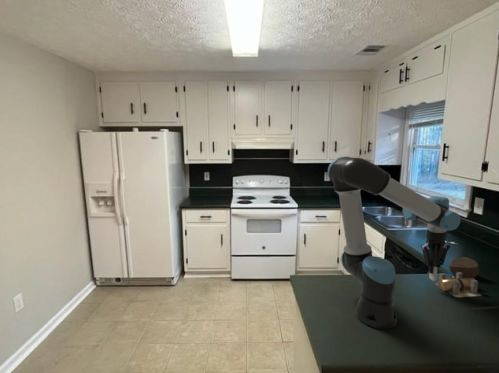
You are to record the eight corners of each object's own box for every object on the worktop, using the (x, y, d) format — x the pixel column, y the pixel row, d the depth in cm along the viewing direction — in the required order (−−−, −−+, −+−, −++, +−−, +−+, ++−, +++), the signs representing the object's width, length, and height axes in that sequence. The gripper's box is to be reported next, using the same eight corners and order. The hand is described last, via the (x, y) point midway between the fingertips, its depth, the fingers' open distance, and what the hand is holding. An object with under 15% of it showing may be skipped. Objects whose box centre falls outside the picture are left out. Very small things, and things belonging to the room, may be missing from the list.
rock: (451, 271, 141) (445, 255, 148) (451, 282, 146) (446, 265, 153) (481, 270, 135) (474, 253, 142) (480, 281, 141) (473, 264, 148)
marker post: (452, 283, 136) (453, 277, 136) (449, 282, 138) (450, 276, 137) (455, 283, 136) (456, 277, 136) (452, 282, 138) (453, 275, 137)
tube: (469, 287, 134) (467, 276, 135) (478, 289, 129) (476, 278, 130) (438, 290, 132) (437, 278, 133) (447, 291, 127) (445, 280, 128)
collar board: (455, 299, 124) (457, 284, 123) (433, 285, 137) (435, 271, 136) (482, 297, 125) (483, 283, 124) (457, 283, 138) (459, 270, 137)
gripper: (429, 234, 121) (425, 284, 124) (456, 232, 122) (452, 282, 126) (417, 228, 128) (414, 276, 132) (443, 227, 130) (439, 274, 133)
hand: (432, 279), depth 129 cm, fingers closed
